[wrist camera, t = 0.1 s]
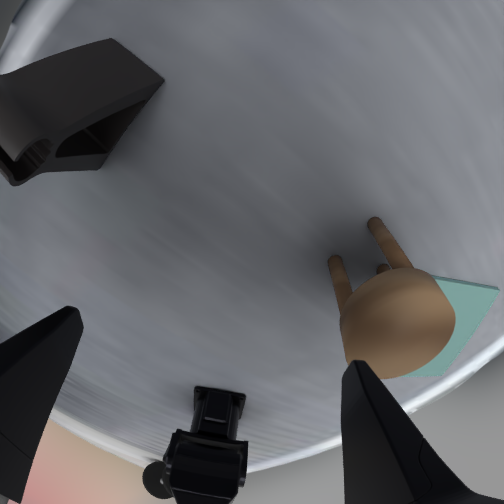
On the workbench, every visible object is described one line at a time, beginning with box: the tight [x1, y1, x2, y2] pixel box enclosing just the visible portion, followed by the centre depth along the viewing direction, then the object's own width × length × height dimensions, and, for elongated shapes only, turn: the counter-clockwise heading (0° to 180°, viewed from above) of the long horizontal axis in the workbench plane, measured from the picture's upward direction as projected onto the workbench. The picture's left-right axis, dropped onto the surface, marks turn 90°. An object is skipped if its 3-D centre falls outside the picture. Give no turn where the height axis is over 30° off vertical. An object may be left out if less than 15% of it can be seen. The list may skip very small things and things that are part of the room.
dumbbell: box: [142, 462, 174, 499], centre depth 48 cm, size 22×10×10 cm, turn 132°
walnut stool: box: [328, 217, 456, 379], centre depth 19 cm, size 7×7×10 cm
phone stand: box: [0, 38, 164, 186], centre depth 13 cm, size 9×6×12 cm, turn 135°
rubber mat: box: [399, 275, 500, 377], centre depth 27 cm, size 14×14×1 cm
